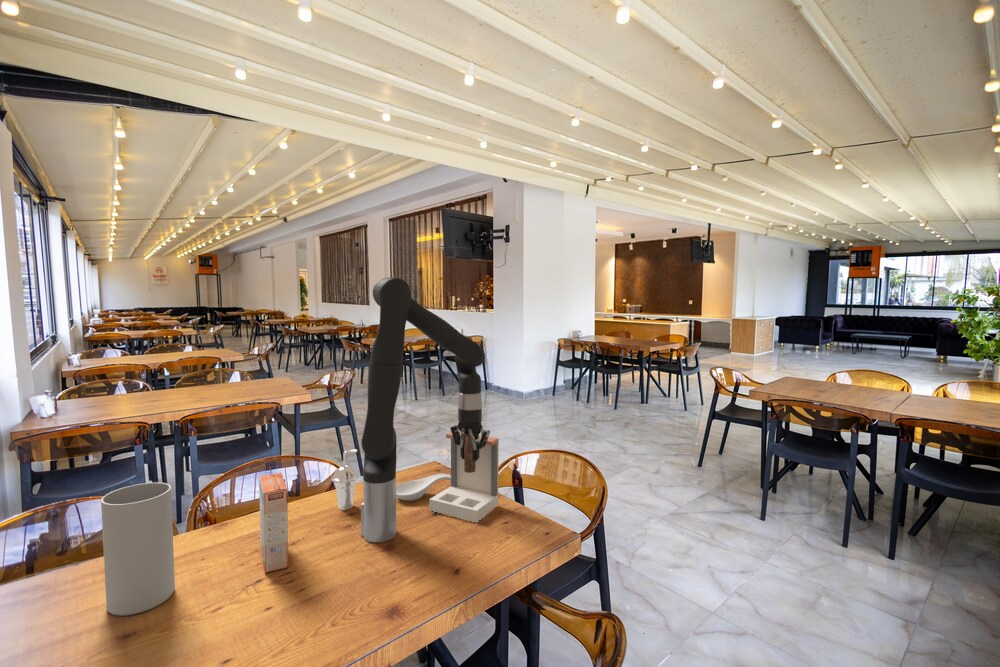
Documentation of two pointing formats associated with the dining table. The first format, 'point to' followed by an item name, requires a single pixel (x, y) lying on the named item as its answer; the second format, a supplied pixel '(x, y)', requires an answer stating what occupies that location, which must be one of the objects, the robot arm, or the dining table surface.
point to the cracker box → (273, 522)
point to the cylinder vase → (138, 547)
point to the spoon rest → (418, 487)
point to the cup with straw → (345, 484)
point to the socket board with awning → (470, 484)
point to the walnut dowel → (468, 455)
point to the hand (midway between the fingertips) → (469, 459)
